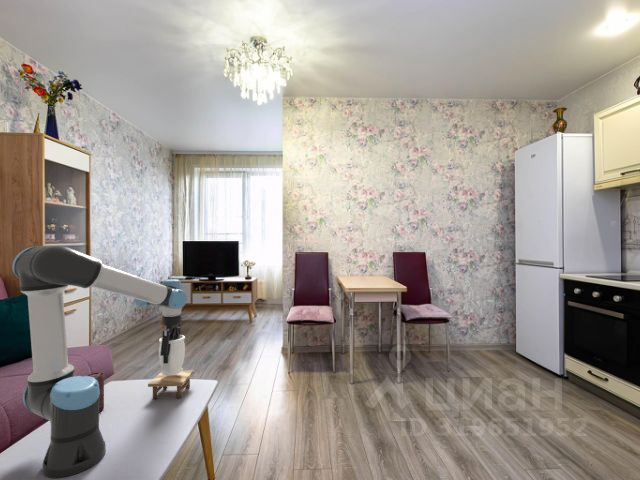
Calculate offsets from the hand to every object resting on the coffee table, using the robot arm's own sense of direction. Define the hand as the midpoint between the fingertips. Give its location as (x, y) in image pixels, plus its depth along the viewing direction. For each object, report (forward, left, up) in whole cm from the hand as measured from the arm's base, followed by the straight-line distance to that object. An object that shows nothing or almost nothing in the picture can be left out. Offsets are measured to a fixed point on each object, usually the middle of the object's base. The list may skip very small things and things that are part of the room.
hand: (172, 365), depth 143 cm
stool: (0, 0, -12) cm, 12 cm away
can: (-14, +24, -12) cm, 30 cm away
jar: (0, 0, -3) cm, 3 cm away
